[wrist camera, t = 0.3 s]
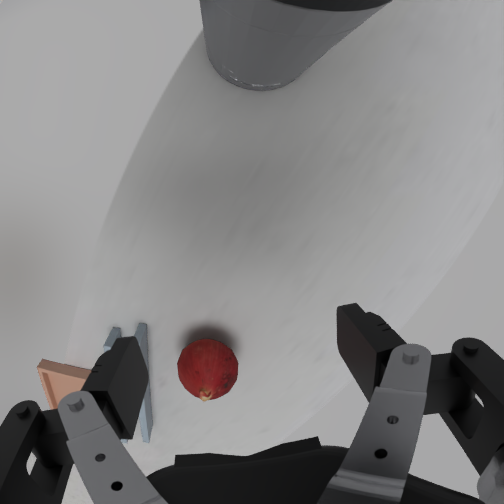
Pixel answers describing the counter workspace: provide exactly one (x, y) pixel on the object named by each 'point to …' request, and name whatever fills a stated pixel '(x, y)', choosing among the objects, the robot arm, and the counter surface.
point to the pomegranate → (207, 369)
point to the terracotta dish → (60, 380)
